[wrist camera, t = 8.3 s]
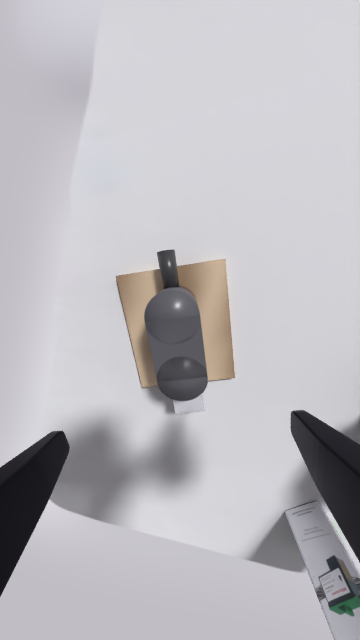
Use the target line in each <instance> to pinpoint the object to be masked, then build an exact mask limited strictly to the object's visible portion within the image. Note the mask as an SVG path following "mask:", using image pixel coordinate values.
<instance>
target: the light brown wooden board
mask: <svg viewBox="0 0 360 640" xmlns="http://www.w3.org/2000/svg"><path fill="white" fill-rule="evenodd" d="M177 271H178V278H179V285H181V286H184V287H186V288H188V289H189V290H190V291H191V292H192V293H193V294H194V295H195V297H196V300H197V304H198V308H199V312H200V318H201V326H202V335H203V343H204V351H205V359H206V368H207V376H208V381H211V380H220V379H230V378H235V373H234V361H233V349H232V336H231V324H230V311H229V299H228V287H227V274H226V262H225V259H220V260H214V261H208V262H201V263H195V264H189V265H183V266H177ZM116 279H117V283H118V287H119V292H120V296H121V300H122V304H123V308H124V313H125V317H126V321H127V325H128V329H129V334H130V338H131V342H132V346H133V351H134V355H135V359H136V363H137V367H138V372H139V376H140V380H141V384H142V388H143V387H153V386H158V384H157V379H156V374H155V370H154V365H153V360H152V355H151V350H150V345H149V340H148V336H147V331H146V326H145V321H144V313H145V309H146V306H147V304H148V303H149V301H150V300H151V299H152V298H153V297H154V296H155V295H156V294H158V293H159V292H160V291H161V290H163V285H162V279H161V273H160V269H157V270H151V271H145V272H138V273H132V274H126V275H119V276H116Z"/></svg>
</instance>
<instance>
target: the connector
mask: <svg viewBox="0 0 360 640" xmlns="http://www.w3.org/2000/svg"><path fill="white" fill-rule="evenodd" d="M157 255H158V261H159V267H160V273H161V279H162V285H163V290H161V291H160V292H159V293H158V294H156V295H155V296H154V297H153V298H152V299H151V300H150V301H149V303H148V304H147V306H146V309H145V313H144V321H145V326H146V331H147V336H148V340H149V345H150V350H151V355H152V360H153V365H154V370H155V374H156V379H157V384H158V386H159V388H160V390H161V391H162V393H163V394H165V395H166V396H167V397H169V398H171V399H173V404H174V409H175V414H179V413H190V412H202V411H205V409H204V401H203V392H204V390H205V389H206V386H207V383H208V376H207V368H206V359H205V351H204V343H203V335H202V326H201V318H200V312H199V308H198V304H197V300H196V297H195V295H194V294H193V293H192V292H191V291H190V290H189V289H188V288H186V287H184V286H181V285H179V278H178V271H177V264H176V257H175V251H174V250H165V251H160V252H157Z"/></svg>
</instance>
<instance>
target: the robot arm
mask: <svg viewBox="0 0 360 640" xmlns="http://www.w3.org/2000/svg"><path fill="white" fill-rule="evenodd" d="M291 433H292V435H293V438H294V440H295V442H296V444H297V446H298V448H299V451H300V453H301V455H302V457H303V459H304V461H305V463H306V465H307V468H308V470H309V472H310V474H311V476H312V478H313V480H314V482H315V484H316V486H317V488H318V490H319V492H320V494H321V495H322V497H323V499H324V501H325V502H326V504H327V506H328V508H329V509H330V511H331V513H332V515H333V516H334V518H335V520H336V522H337V523H338V525H339V527H340V529H341V530H342V532H343V534H344V536H345V537H346V539H347V541H348V543H349V544H350V546H351V548H352V550H353V551H354V553H355V555H356V557H357V558H358V560H359V562H360V444H358V443H357V442H355V441H353V440H352V439H350V438H349V437H347V436H345V435H344V434H342V433H340V432H339V431H337V430H335V429H334V428H332V427H331V426H329V425H327V424H326V423H324V422H322V421H321V420H319V419H318V418H316V417H314V416H313V415H311V414H309V413H308V412H306V411H304V410H297V411H292V412H291ZM69 448H70V447H69V443H68V441H67V438H66V436H65V433H64V432H63V431H53V432H51V433H49V434H48V435H46V436H45V437H43V438H42V439H41V440H39V441H38V442H36V443H35V444H33V445H32V446H31V447H29V448H28V449H26V450H25V451H23V452H22V453H21V454H19V455H18V456H16V457H15V458H13V459H12V460H10V461H9V462H8V463H6V464H5V465H3V466H2V467H0V596H1V594H2V592H3V590H4V588H5V586H6V584H7V582H8V580H9V578H10V576H11V574H12V572H13V570H14V568H15V566H16V564H17V562H18V560H19V558H20V556H21V555H22V552H23V551H24V548H25V546H26V545H27V543H28V541H29V539H30V537H31V535H32V533H33V530H34V529H35V527H36V524H37V522H38V521H39V519H40V516H41V514H42V512H43V511H44V509H45V506H46V504H47V502H48V500H49V498H50V496H51V494H52V491H53V489H54V487H55V484H56V482H57V479H58V477H59V475H60V472H61V470H62V468H63V465H64V463H65V460H66V458H67V456H68V453H69Z"/></svg>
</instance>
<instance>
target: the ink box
mask: <svg viewBox="0 0 360 640" xmlns="http://www.w3.org/2000/svg"><path fill="white" fill-rule="evenodd" d="M285 515H286V517H287V520H288V522H289V525H290V528H291V530H292V533H293V535H294V538H295V540H296V543H297V546H298V548H299V551H300V553H301V556H302V558H303V561H304V563H305V566H306V569H307V571H308V574H309V576H310V579H311V581H312V584H313V586H314V589H315V591H316V594H317V597H318V599H319V601H320V604H321V607H322V609H323V612H324V614H325V617H326V620H327V622H328V624H329V627H330V630H331V632H332V635H333V638H334V640H360V571H359V570H358V568H357V566H356V564H355V563H354V561H353V559H352V557H351V556H350V554H349V552H348V550H347V549H346V547H345V545H344V543H343V542H342V540H341V538H340V536H339V535H338V533H337V531H336V530H335V528H334V526H333V525H332V523H331V522H330V520H329V518H328V517H327V515H326V513H325V512H324V510H323V509H322V507H321V506H320V504H319V503H318V501H315V502H312V503H308V504H305V505H302V506H299V507H296V508H293V509H290V510H286V511H285Z"/></svg>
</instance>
